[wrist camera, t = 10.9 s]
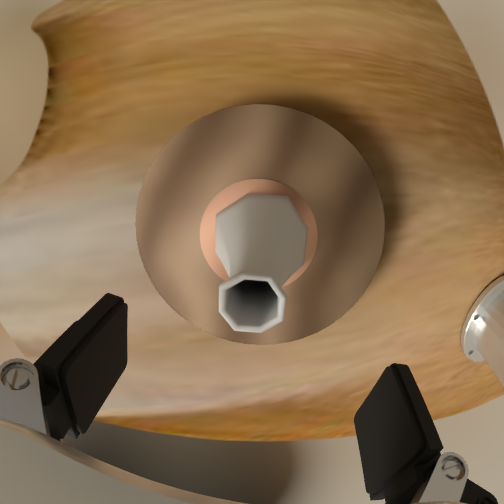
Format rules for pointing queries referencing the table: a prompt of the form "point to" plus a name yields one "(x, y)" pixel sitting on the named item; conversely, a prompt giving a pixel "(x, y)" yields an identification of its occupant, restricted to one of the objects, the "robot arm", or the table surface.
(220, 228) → the flask
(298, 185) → the turntable
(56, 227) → the table surface
